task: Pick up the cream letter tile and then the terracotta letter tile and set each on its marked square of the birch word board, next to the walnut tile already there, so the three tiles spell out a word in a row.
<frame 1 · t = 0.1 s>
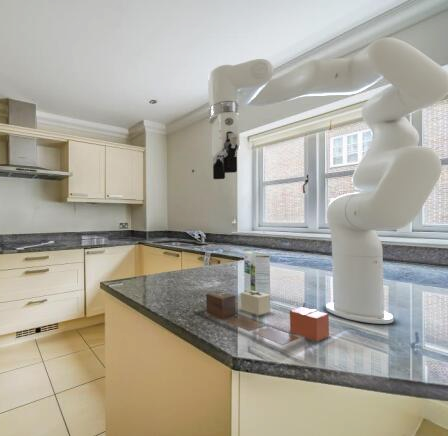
hand: (224, 175, 68), 37 cm above the counter, tool pointing down, fingers open, 9 cm apart
walnut tile: (220, 313, 64), resting on word board
syrup box: (257, 297, 80), on the counter
terracotta tile: (309, 335, 53), on the counter
cream tile: (255, 312, 66), on the counter
word board: (245, 325, 58), on the counter
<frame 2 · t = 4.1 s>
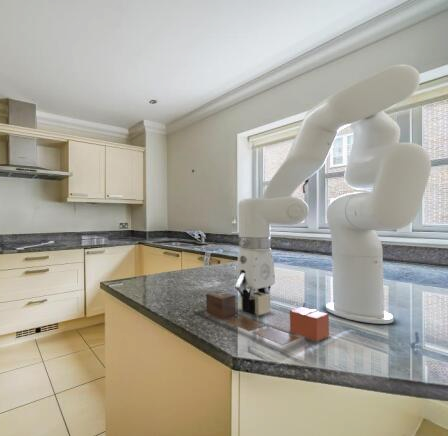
hand: (255, 310, 66), 0 cm above the counter, tool pointing down, fingers closed on cream tile, 5 cm apart
cream tile: (255, 312, 66), on the counter, touching gripper
everything else where it was.
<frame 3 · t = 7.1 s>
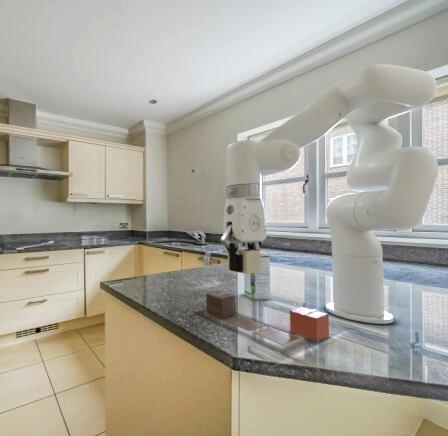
hand: (244, 269, 59), 13 cm above the counter, tool pointing down, fingers closed on cream tile, 5 cm apart
cream tile: (243, 271, 59), point 13 cm above the counter, touching gripper
everything else where it was.
when the fingers open (1 cm above the counter, at t = 10.3 s): cream tile stays where it is, resting on word board.
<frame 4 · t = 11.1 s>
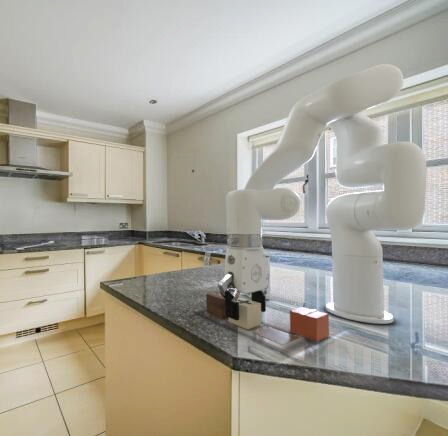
hand: (246, 314, 58), 3 cm above the counter, tool pointing down, fingers open, 9 cm apart
cream tile: (244, 323, 58), resting on word board
everything else where it was.
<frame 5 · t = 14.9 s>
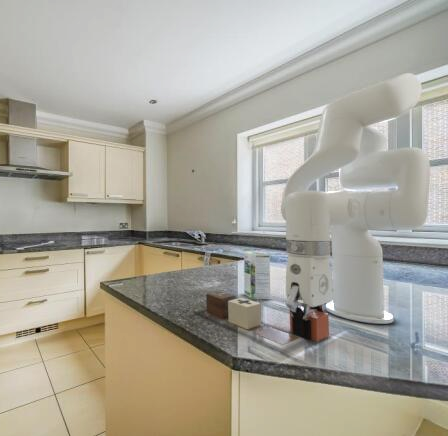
hand: (309, 333, 53), 1 cm above the counter, tool pointing down, fingers open, 5 cm apart
terracotta tile: (309, 335, 53), on the counter, touching gripper, word board
everything else where it was.
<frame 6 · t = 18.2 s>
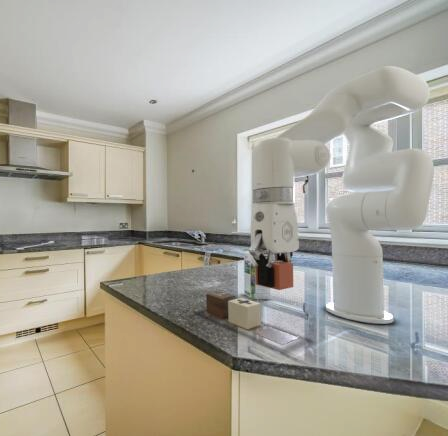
hand: (274, 283, 52), 11 cm above the counter, tool pointing down, fingers closed on terracotta tile, 5 cm apart
terracotta tile: (274, 285, 52), point 11 cm above the counter, touching gripper
everything else where it was.
when the fingers open (1 cm above the counter, at t = 21.0 s): terracotta tile stays where it is, resting on word board.
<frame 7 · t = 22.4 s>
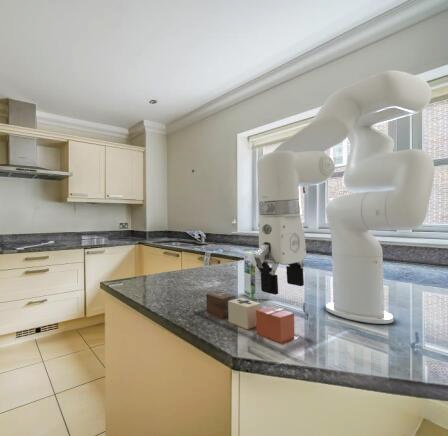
hand: (283, 288, 53), 10 cm above the counter, tool pointing down, fingers open, 9 cm apart
terracotta tile: (275, 335, 52), resting on word board
everything else where it was.
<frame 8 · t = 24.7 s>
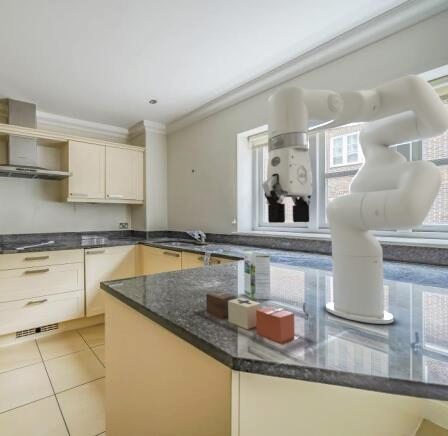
hand: (289, 222, 55), 24 cm above the counter, tool pointing down, fingers open, 9 cm apart
nothing on the counter moved.
at the end: cream tile 0.2 cm off-centre on the word board, point 0.5 cm above the word board's base; terracotta tile 0.2 cm from the target spot on the word board, point 0.5 cm above the word board's base; terracotta tile tilted 0° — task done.
